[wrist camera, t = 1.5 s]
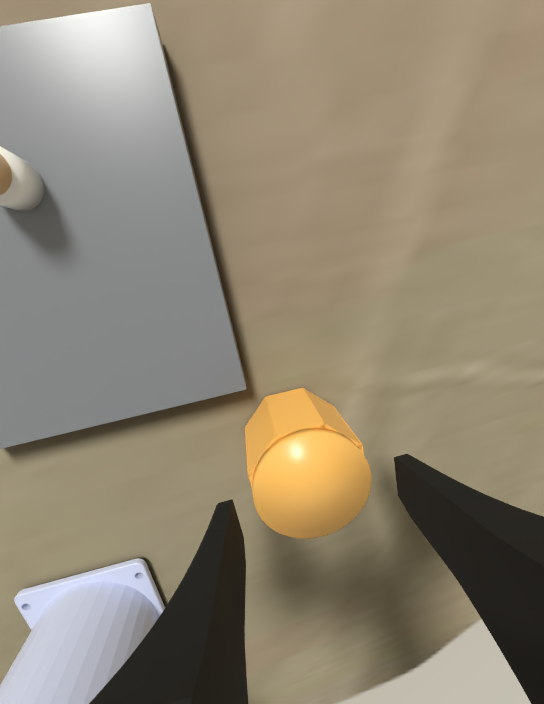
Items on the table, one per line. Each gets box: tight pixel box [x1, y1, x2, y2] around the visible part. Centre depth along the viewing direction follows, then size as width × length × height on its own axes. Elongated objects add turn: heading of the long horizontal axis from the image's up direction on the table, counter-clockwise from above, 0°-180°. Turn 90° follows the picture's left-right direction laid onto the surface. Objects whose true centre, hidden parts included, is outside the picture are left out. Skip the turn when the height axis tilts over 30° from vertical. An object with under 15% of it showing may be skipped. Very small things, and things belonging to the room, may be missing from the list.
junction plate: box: [0, 3, 246, 449], centre depth 12 cm, size 16×14×4 cm
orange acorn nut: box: [245, 388, 371, 539], centre depth 16 cm, size 6×5×5 cm
